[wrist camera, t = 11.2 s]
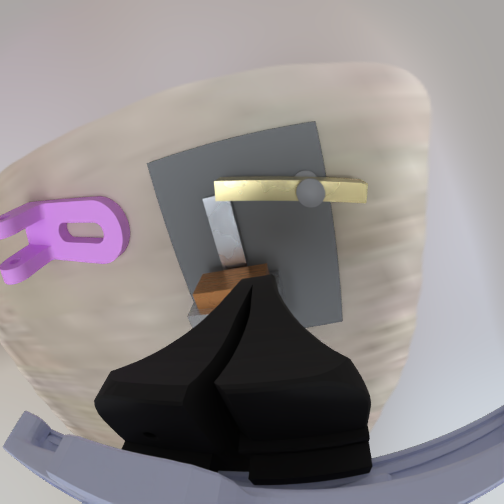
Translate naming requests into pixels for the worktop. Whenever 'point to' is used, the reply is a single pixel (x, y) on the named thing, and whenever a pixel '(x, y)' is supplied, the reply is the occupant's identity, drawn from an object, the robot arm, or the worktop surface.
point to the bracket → (62, 234)
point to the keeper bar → (286, 188)
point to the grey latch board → (258, 215)
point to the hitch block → (226, 247)
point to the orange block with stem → (223, 284)
